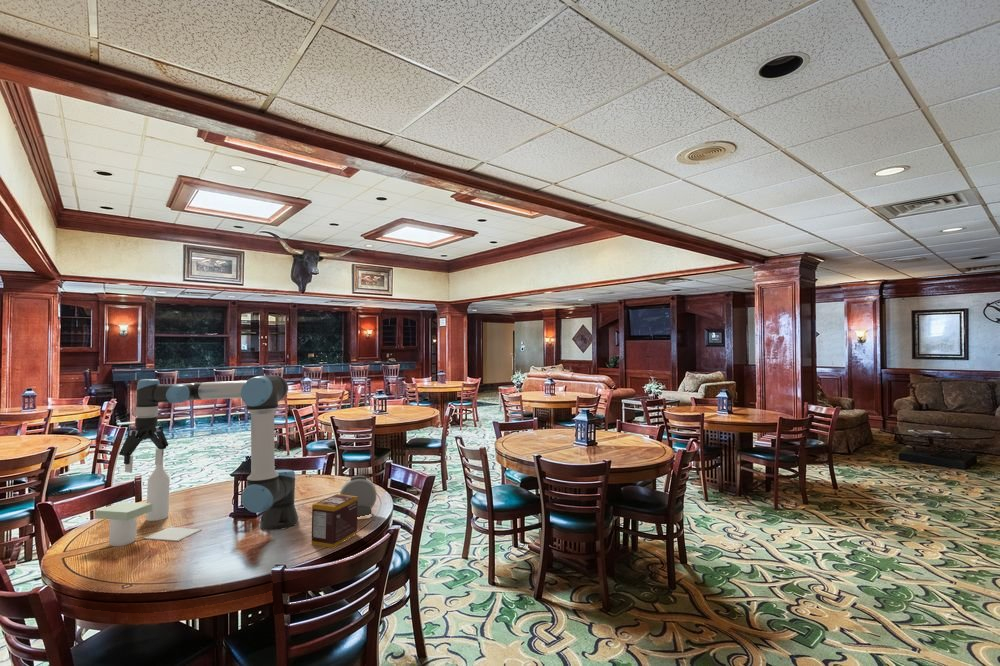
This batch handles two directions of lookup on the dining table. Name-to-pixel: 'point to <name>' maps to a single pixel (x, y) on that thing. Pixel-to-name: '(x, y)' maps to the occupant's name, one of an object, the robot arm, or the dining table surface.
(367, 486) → the alarm clock
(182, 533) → the mat
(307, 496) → the dining table surface
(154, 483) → the bottle
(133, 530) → the cup
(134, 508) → the board
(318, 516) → the supplement box
